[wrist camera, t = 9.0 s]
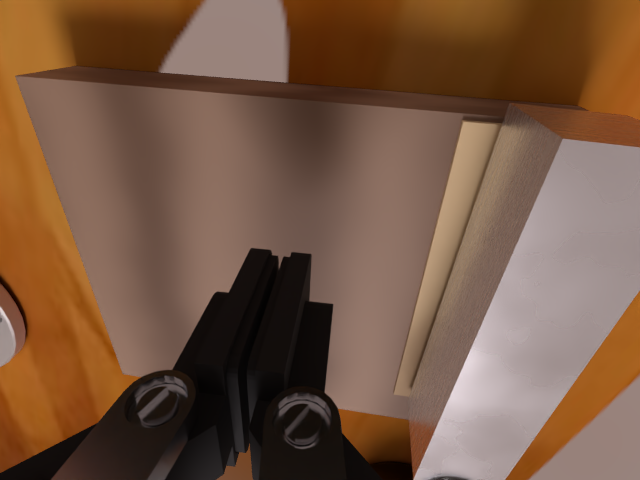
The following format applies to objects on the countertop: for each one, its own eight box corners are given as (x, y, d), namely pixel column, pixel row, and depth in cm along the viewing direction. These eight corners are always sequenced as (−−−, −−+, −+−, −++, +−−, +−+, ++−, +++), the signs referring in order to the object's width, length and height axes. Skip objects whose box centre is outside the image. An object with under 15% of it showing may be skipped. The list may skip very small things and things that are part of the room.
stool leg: (463, 428, 19) (481, 519, 15) (400, 417, 19) (405, 504, 16) (623, 113, 10) (742, 161, 7) (507, 101, 11) (567, 141, 7)
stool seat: (150, 335, 24) (120, 376, 21) (75, 65, 15) (10, 76, 13) (464, 382, 22) (476, 433, 19) (578, 105, 13) (628, 128, 11)
